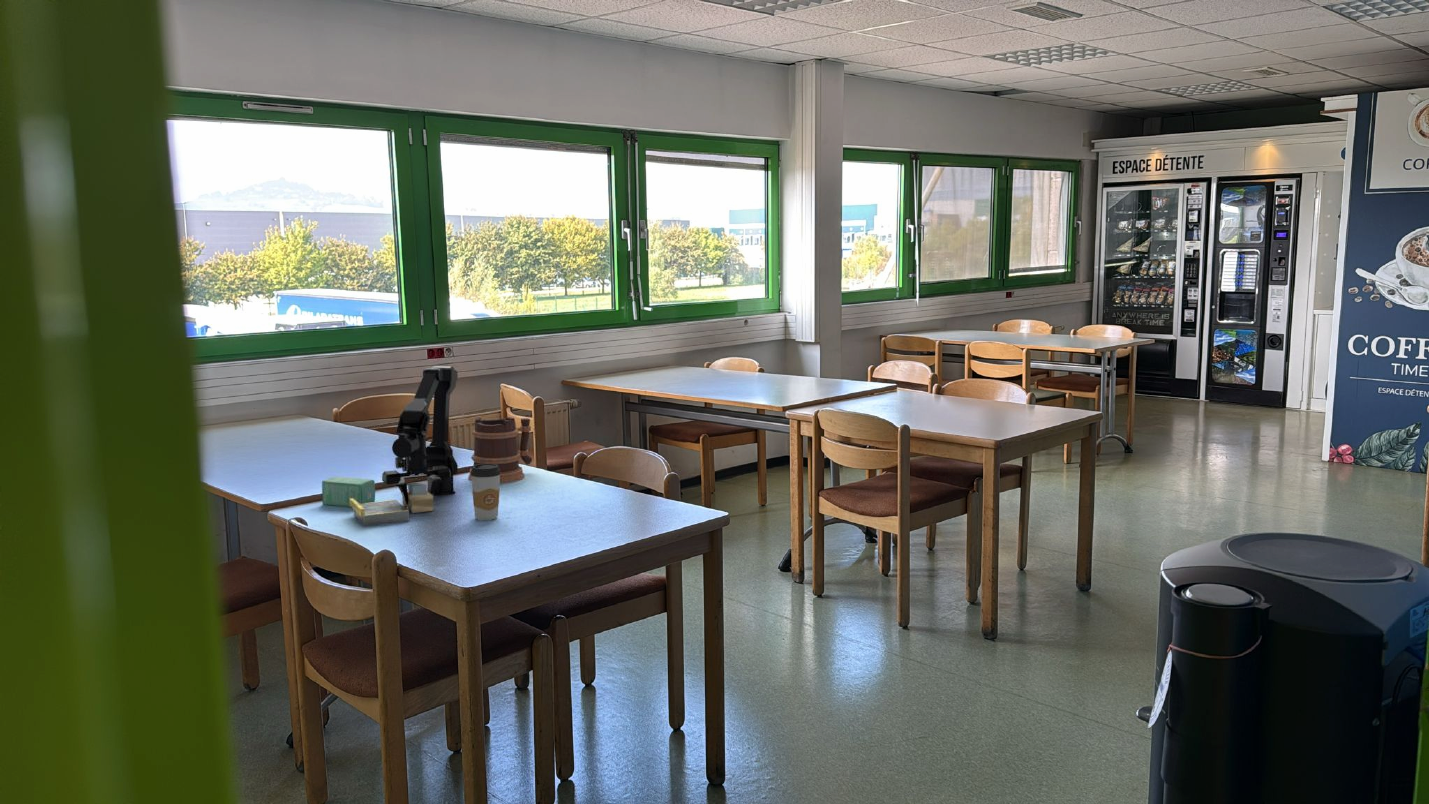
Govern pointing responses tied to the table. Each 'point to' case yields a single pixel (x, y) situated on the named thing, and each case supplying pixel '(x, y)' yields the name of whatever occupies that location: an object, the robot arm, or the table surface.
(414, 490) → the grey blue block
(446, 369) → the robot arm
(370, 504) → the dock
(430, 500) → the tan stepped block
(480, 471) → the coffee cup
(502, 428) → the mug
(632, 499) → the table surface
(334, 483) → the box
